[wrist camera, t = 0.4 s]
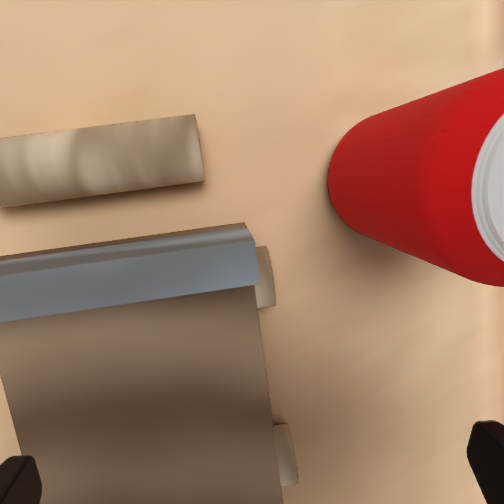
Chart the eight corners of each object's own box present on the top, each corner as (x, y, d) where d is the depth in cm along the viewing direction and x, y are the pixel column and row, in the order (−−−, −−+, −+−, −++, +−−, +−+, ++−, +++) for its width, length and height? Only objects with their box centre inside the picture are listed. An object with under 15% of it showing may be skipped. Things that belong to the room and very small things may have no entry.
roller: (205, 180, 21) (203, 181, 18) (2, 207, 20) (-34, 213, 17) (196, 118, 20) (193, 109, 17) (-13, 144, 20) (-53, 139, 17)
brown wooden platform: (293, 480, 25) (328, 623, 17) (70, 519, 24) (-1, 689, 16) (259, 212, 22) (284, 235, 14) (2, 248, 21) (-128, 294, 13)
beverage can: (297, 169, 21) (398, 166, 10) (393, 89, 21) (618, -18, 9) (367, 258, 22) (533, 351, 11) (458, 183, 22) (732, 195, 10)
